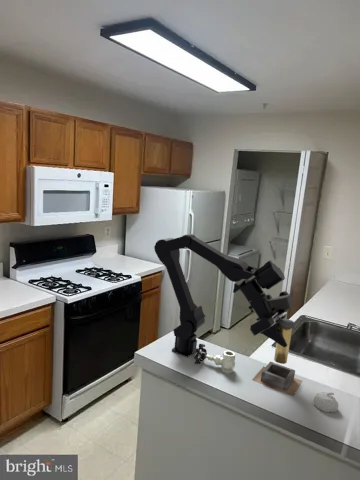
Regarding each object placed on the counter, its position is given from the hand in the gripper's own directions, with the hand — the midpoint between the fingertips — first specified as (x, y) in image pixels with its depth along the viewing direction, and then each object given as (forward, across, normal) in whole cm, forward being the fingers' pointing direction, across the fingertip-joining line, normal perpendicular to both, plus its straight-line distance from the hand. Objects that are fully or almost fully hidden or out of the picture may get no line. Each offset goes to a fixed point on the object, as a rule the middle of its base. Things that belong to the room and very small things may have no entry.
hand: (287, 344), depth 100 cm
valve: (-4, -5, +23) cm, 24 cm away
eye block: (+8, 0, +10) cm, 13 cm away
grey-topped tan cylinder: (+3, 0, +5) cm, 6 cm away
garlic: (+18, -4, 0) cm, 19 cm away
